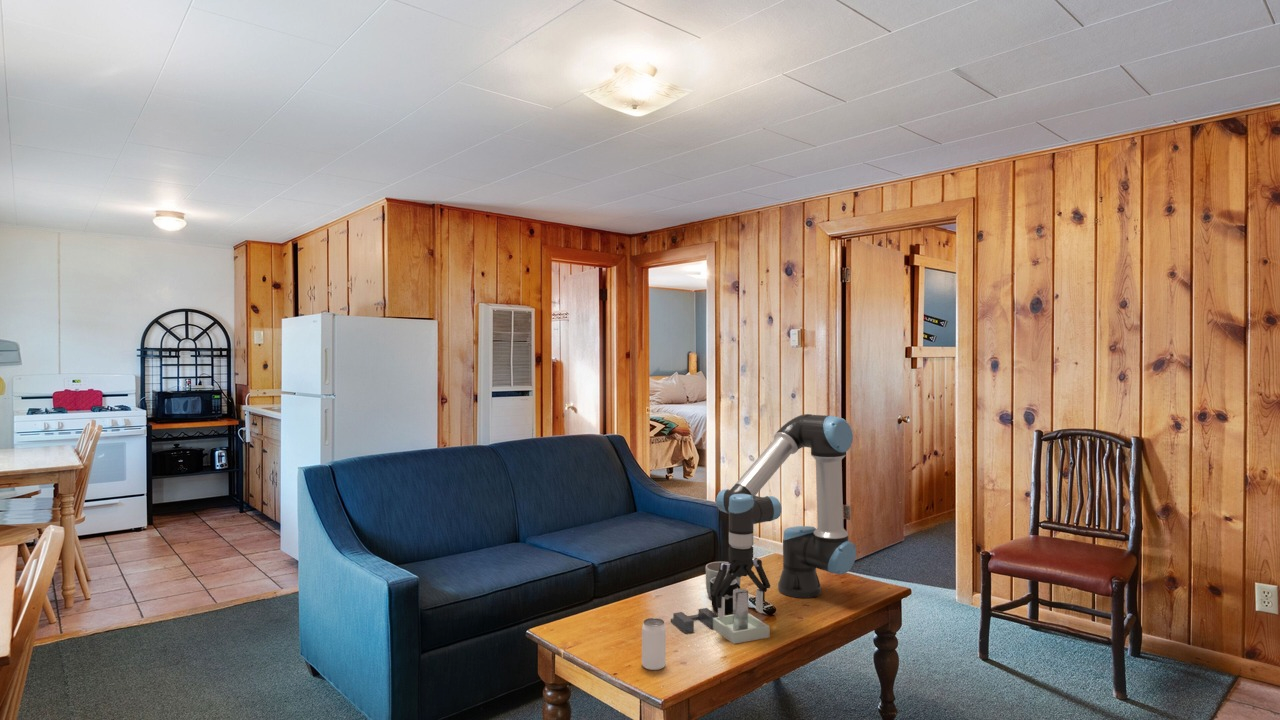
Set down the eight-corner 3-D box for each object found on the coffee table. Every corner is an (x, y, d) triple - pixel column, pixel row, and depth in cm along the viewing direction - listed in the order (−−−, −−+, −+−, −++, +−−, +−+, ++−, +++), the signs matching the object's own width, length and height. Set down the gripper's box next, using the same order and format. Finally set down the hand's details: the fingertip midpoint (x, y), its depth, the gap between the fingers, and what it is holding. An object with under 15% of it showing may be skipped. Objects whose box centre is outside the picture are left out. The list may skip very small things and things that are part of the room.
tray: (746, 622, 219) (746, 612, 219) (769, 637, 207) (769, 626, 207) (712, 628, 214) (712, 617, 214) (733, 643, 202) (733, 632, 202)
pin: (750, 631, 209) (751, 592, 209) (738, 634, 207) (738, 594, 207) (742, 626, 214) (742, 587, 213) (730, 628, 212) (730, 589, 212)
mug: (721, 618, 222) (722, 586, 222) (704, 609, 230) (704, 579, 230) (749, 610, 229) (749, 580, 229) (731, 602, 236) (731, 573, 236)
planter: (740, 605, 234) (740, 573, 234) (703, 602, 236) (704, 571, 236) (741, 592, 246) (741, 562, 246) (706, 590, 249) (707, 560, 249)
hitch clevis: (703, 616, 223) (703, 605, 223) (719, 627, 214) (719, 616, 214) (670, 622, 219) (670, 611, 219) (685, 633, 210) (685, 622, 209)
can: (651, 673, 183) (651, 628, 183) (637, 664, 188) (637, 620, 188) (670, 666, 187) (670, 622, 187) (655, 658, 192) (656, 615, 192)
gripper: (768, 538, 219) (767, 604, 219) (699, 546, 209) (698, 616, 209) (781, 544, 212) (781, 612, 212) (711, 553, 202) (711, 625, 202)
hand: (740, 614), depth 210 cm, fingers open, 13 cm apart
